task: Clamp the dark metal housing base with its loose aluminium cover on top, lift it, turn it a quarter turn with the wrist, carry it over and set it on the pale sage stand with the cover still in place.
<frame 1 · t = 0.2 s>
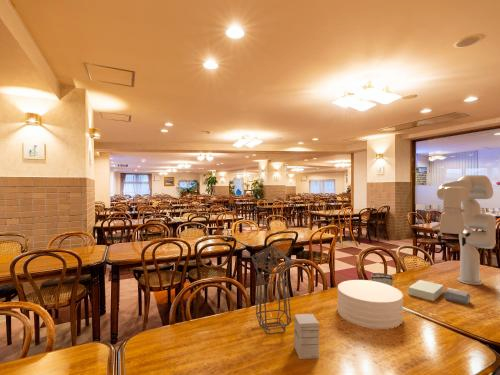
hand: (451, 244, 148), 30 cm above the table, tool pointing down, fingers open, 9 cm apart
stand: (426, 293, 160), on the table
housing base: (456, 301, 151), on the table
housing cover: (457, 293, 151), point 4 cm above the table
food container: (380, 292, 162), on the table
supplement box: (306, 353, 104), on the table
plate stack: (368, 314, 135), on the table
geometric lantern: (271, 329, 121), on the table
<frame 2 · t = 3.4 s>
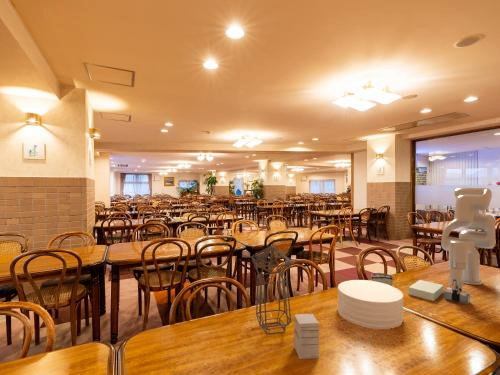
hand: (456, 299, 151), 1 cm above the table, tool pointing down, fingers closed on housing base, 5 cm apart
housing base: (456, 300, 151), on the table, touching gripper, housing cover
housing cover: (456, 293, 150), point 4 cm above the table, touching housing base
everything else where it was.
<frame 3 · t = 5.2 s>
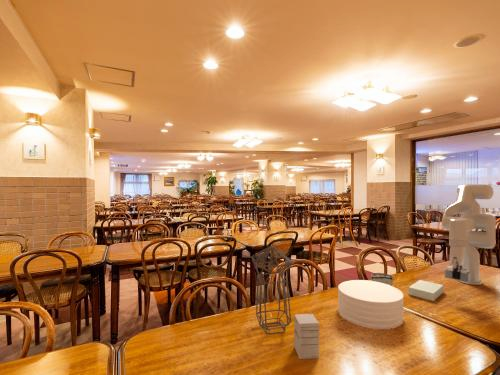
hand: (457, 277, 151), 12 cm above the table, tool pointing down, fingers closed on housing base, 5 cm apart
housing base: (457, 278, 151), point 11 cm above the table, touching gripper, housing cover
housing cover: (457, 271, 150), point 15 cm above the table, touching housing base
everything else where it was.
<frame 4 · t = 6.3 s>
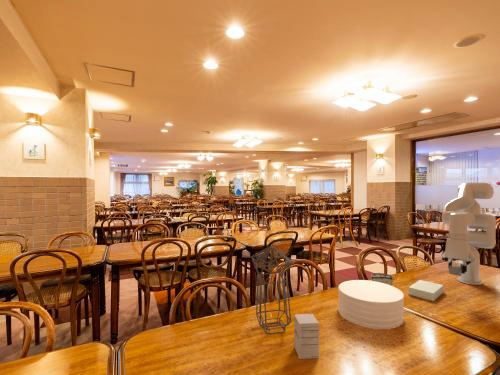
hand: (457, 271, 150), 15 cm above the table, tool pointing down, fingers closed on housing base, 5 cm apart
housing base: (457, 272, 150), point 15 cm above the table, touching gripper, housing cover
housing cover: (458, 265, 150), point 19 cm above the table, touching housing base
everything else where it was.
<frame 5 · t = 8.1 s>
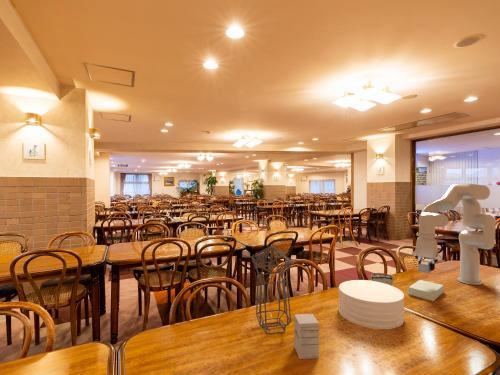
hand: (426, 268, 160), 14 cm above the table, tool pointing down, fingers closed on housing base, 5 cm apart
housing base: (426, 270, 160), point 13 cm above the table, touching gripper, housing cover
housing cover: (426, 263, 160), point 17 cm above the table, touching housing base
everything else where it was.
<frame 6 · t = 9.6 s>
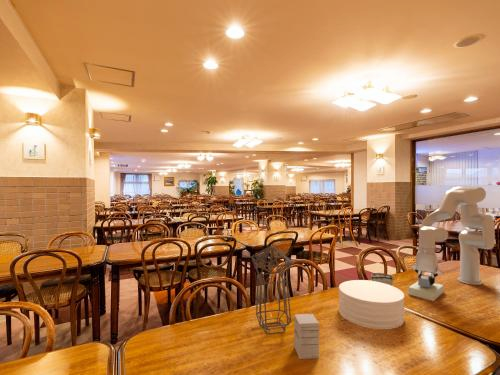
hand: (426, 282, 160), 6 cm above the table, tool pointing down, fingers closed on housing base, 4 cm apart
housing base: (426, 284, 160), point 5 cm above the table, touching gripper, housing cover
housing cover: (427, 277, 160), point 9 cm above the table, touching housing base
everything else where it was.
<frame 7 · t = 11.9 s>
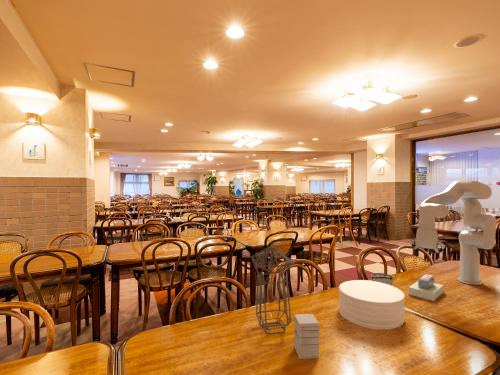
hand: (426, 257, 160), 20 cm above the table, tool pointing down, fingers open, 9 cm apart
housing base: (426, 286, 160), point 4 cm above the table, touching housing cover, stand
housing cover: (426, 279, 160), point 8 cm above the table, touching housing base
everything else where it was.
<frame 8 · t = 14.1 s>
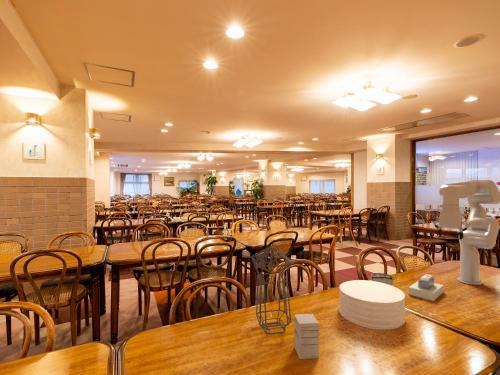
hand: (450, 237, 163), 30 cm above the table, tool pointing down, fingers open, 9 cm apart
nothing on the table moved.
at the end: housing base 0.1 cm off-centre on the stand, point 4.0 cm above the stand's base; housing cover 0.3 cm off-centre on the housing base, point 4.0 cm above the housing base's base; the gripper is holding nothing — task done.
